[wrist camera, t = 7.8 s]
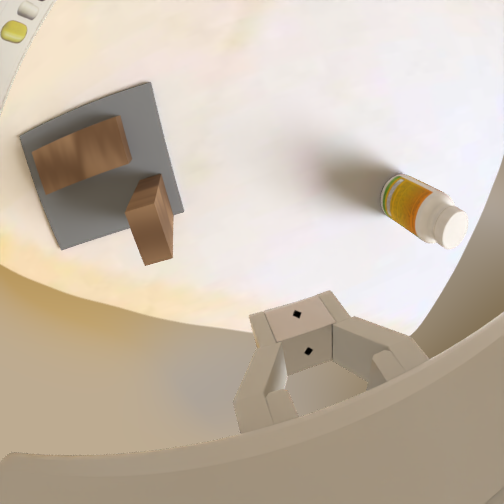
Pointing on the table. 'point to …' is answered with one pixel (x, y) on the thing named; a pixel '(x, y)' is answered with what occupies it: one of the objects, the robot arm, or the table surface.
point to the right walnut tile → (151, 220)
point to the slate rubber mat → (110, 182)
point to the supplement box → (17, 36)
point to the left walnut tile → (82, 154)
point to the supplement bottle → (424, 211)
